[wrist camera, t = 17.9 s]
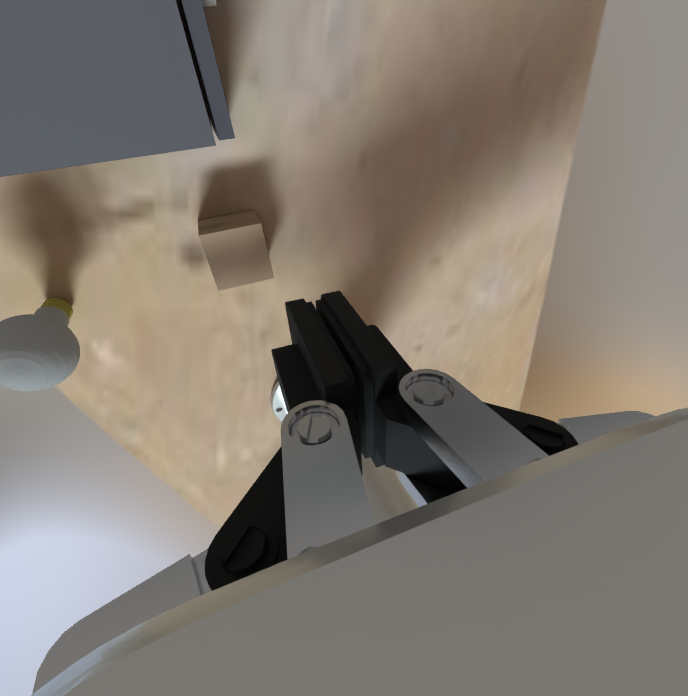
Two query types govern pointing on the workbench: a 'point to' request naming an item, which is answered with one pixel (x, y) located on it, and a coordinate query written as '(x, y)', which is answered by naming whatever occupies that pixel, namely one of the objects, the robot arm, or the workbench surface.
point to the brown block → (235, 249)
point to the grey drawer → (207, 65)
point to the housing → (95, 83)
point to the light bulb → (38, 348)
